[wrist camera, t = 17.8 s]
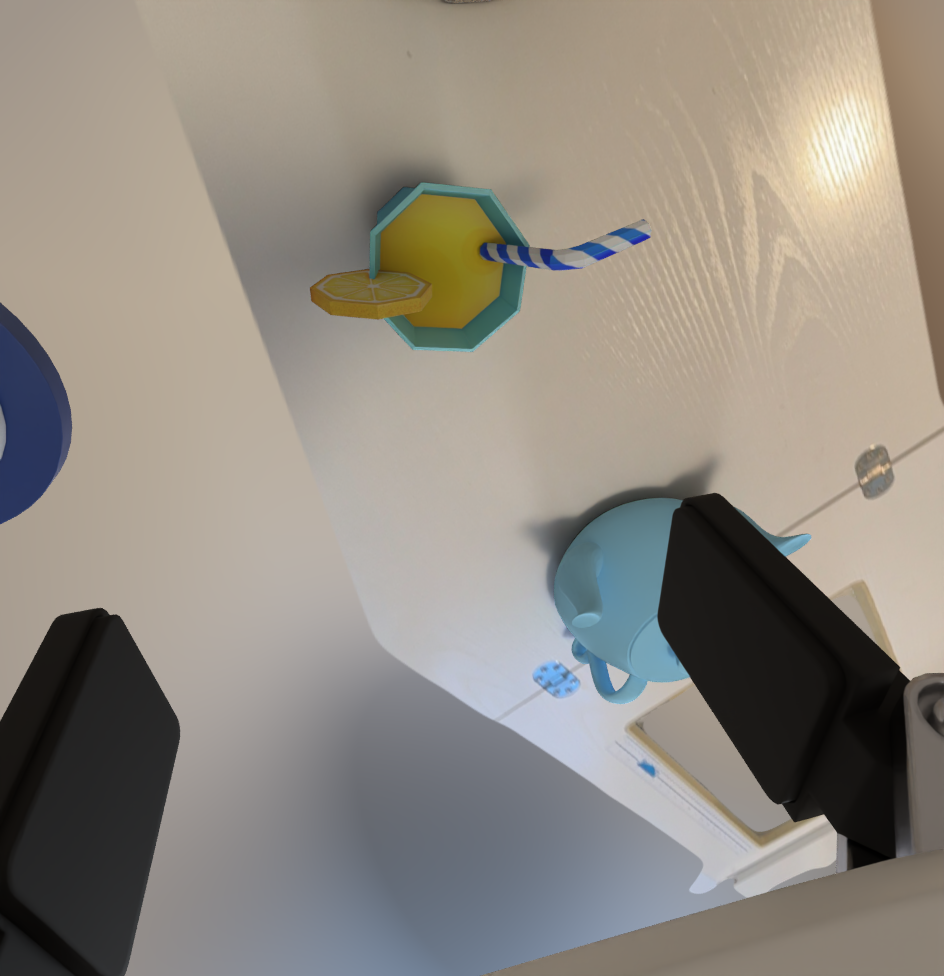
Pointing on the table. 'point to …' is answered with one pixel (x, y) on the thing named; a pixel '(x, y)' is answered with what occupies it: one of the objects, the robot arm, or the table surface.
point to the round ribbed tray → (461, 0)
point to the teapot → (626, 594)
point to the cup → (451, 267)
